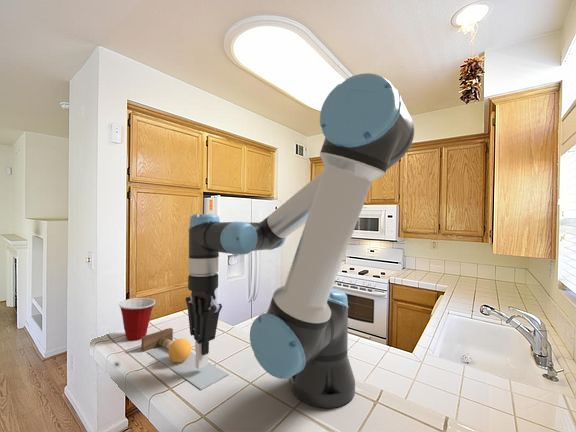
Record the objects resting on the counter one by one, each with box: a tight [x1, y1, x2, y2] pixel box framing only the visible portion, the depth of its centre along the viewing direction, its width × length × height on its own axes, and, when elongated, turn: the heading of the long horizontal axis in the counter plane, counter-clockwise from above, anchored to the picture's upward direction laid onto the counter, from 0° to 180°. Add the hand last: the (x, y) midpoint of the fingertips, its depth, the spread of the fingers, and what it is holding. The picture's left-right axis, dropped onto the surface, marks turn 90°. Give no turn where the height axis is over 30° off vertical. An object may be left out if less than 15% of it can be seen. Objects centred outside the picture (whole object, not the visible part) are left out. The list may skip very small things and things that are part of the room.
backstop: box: [140, 327, 174, 353], centre depth 82 cm, size 2×9×4 cm, turn 142°
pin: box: [159, 337, 175, 349], centre depth 80 cm, size 2×2×8 cm
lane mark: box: [146, 346, 230, 391], centre depth 72 cm, size 28×8×1 cm, turn 52°
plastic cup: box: [118, 297, 156, 342], centre depth 88 cm, size 11×11×12 cm
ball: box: [168, 337, 192, 363], centre depth 73 cm, size 6×6×6 cm
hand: (201, 365), depth 67 cm, fingers closed
